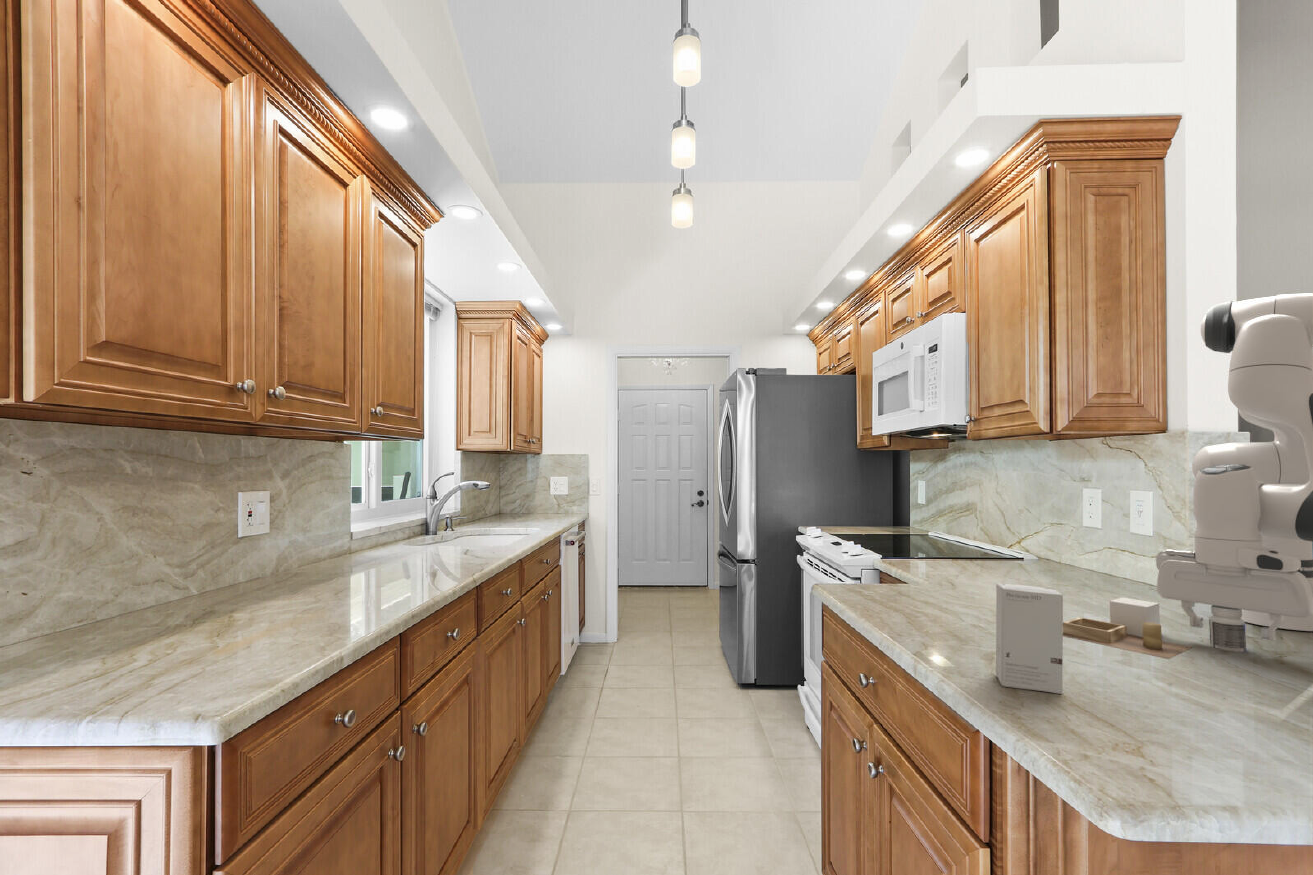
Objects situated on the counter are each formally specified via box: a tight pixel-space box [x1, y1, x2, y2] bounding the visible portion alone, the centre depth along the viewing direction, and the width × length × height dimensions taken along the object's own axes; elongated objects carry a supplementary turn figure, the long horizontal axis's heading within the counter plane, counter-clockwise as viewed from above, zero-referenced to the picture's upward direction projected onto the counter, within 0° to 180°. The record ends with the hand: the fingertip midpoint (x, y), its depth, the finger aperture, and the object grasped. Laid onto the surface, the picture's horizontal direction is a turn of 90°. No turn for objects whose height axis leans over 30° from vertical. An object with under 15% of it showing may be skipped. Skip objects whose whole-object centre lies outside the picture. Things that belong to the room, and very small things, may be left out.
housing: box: [1109, 597, 1161, 637], centre depth 117 cm, size 6×6×7 cm
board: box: [1063, 616, 1193, 660], centre depth 111 cm, size 12×17×5 cm
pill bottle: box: [1208, 605, 1247, 653], centre depth 107 cm, size 5×5×8 cm
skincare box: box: [995, 582, 1064, 694], centre depth 92 cm, size 8×6×15 cm
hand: (1231, 633), depth 107 cm, fingers open, 8 cm apart
